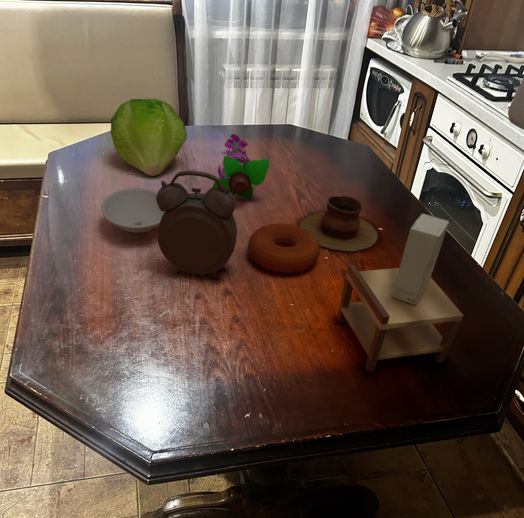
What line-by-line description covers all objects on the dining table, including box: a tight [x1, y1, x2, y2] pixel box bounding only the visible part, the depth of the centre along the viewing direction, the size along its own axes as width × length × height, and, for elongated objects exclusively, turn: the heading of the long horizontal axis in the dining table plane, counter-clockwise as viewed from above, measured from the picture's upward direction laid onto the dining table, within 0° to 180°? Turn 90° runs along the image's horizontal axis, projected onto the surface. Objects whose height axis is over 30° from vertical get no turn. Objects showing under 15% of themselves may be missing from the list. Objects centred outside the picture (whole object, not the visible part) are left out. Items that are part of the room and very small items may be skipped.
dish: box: [100, 187, 165, 234], centre depth 109 cm, size 18×14×5 cm
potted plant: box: [211, 133, 270, 200], centre depth 131 cm, size 12×16×35 cm
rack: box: [336, 264, 464, 373], centre depth 85 cm, size 14×14×12 cm
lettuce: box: [110, 98, 188, 177], centre depth 131 cm, size 17×20×17 cm
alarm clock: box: [156, 170, 238, 279], centre depth 94 cm, size 15×7×20 cm, turn 83°
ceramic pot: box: [299, 195, 379, 252], centre depth 114 cm, size 18×18×7 cm
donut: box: [247, 223, 321, 274], centre depth 105 cm, size 15×15×5 cm
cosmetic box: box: [391, 213, 450, 305], centre depth 79 cm, size 6×4×12 cm
